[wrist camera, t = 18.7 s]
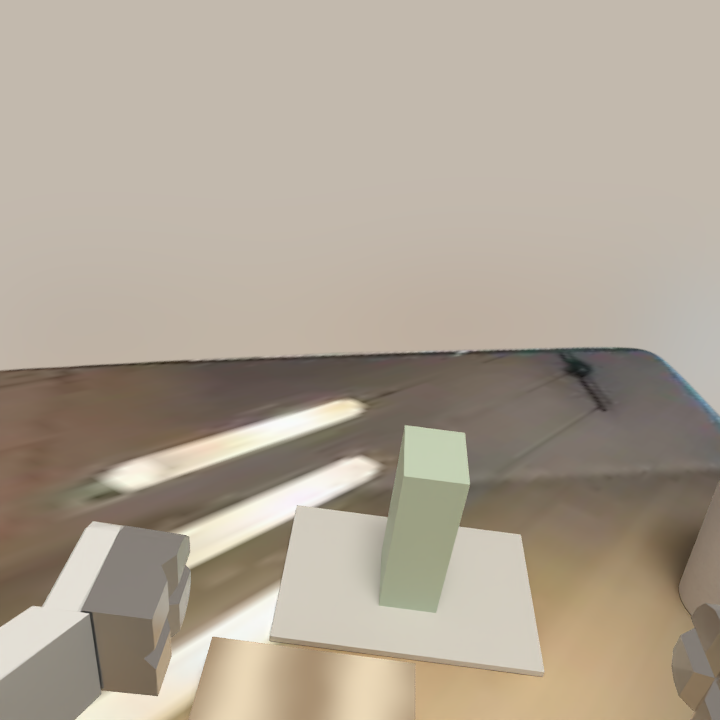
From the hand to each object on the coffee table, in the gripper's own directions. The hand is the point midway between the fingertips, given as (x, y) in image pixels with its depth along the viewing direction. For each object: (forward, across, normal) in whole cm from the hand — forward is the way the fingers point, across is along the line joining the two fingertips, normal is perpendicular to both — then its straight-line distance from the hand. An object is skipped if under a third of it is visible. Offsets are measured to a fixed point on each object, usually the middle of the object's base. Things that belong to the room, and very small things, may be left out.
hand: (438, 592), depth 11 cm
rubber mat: (+26, -4, +31) cm, 41 cm away
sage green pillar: (+26, -4, +31) cm, 41 cm away
